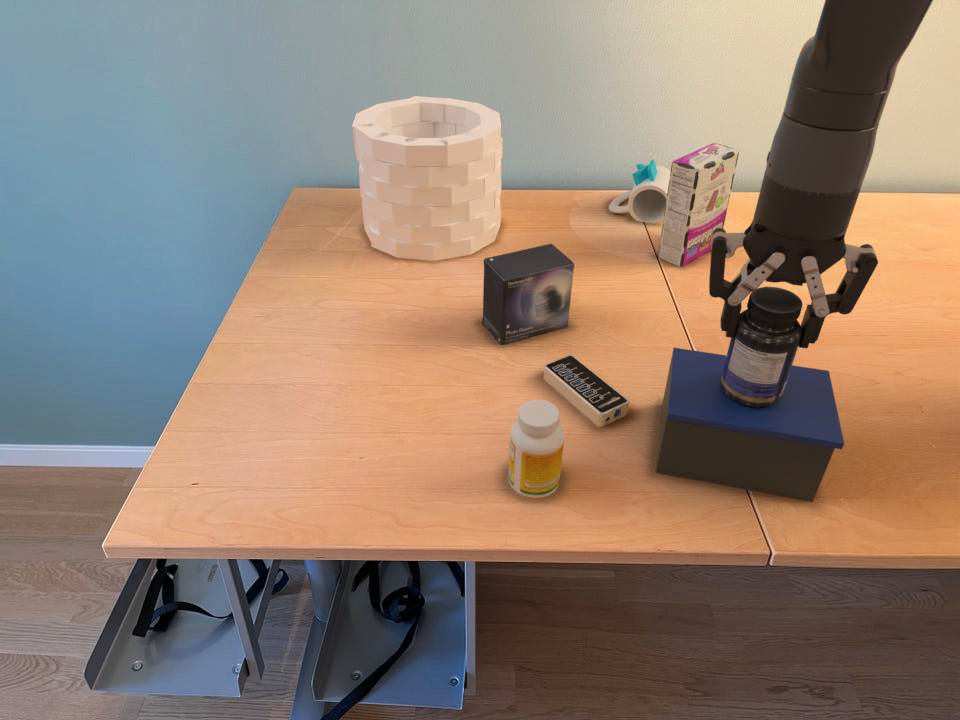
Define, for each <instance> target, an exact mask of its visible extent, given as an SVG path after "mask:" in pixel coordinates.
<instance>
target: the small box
mask: <svg viewBox="0 0 960 720" xmlns="http://www.w3.org/2000/svg"><path fill="white" fill-rule="evenodd" d="M574 270H575V262H573V260H571V259H570V258H569V257H568V256H566V254H565V253H563V252H562V251H561V250H560V249H559V248H558V247H556V246H555V245H554V244H553V243H547V244H543V245H539V246H535V247H529V248H525V249H520V250H517V251H512V252H507V253H503V254H499V255H494V256H489V257H485V258H483V293H482V320H481V325H482V326H483V327H485V329H486V330H487V331H488V332H489V333H490V334H491V336H492V337H493V338H494V339H495V341H496V342H497V343H499V345H501V346H504V345H509V344H512V343H515V342H520V341H523V340H527V339H530V338H534V337H538V336H541V335H545V334H548V333H549V334H550V333H552V332H557V331H560V330H563V329H566V328H568V327H569V319H570V309H571V298H572V290H573V279H574Z"/></svg>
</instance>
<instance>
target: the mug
mask: <svg viewBox="0 0 960 720" xmlns="http://www.w3.org/2000/svg"><path fill="white" fill-rule="evenodd" d="M635 166H636V168H637V170H636V171H634V172H633V173H632V177H633V181H634V185H633V187H632V189H630V190H628V191H625V192H623V193H621V194H620V195H618V196H617V197H615V198H614V199H613V200H612V201H611V202H610V203H609V205H608V210H609V212H611V213H612V214H627V213H629V214H630V216H631V217H632V219H634V220H635V221H636V222H639V223H646V224H655V225H657V224H658V223H660V222H661V223H662V222H663V220H664V214H665V207H666V199H667V193H668V186H669V180H670V173H671V169H669V168H668V167H666V166H663V165H656V161H655V159H651V160H650V161H649V163H648V164H643V163H637V164H635ZM626 200H627V201H628V202H627V205H620V204H622V203H623V202H625V201H626Z"/></svg>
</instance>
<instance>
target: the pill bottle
mask: <svg viewBox="0 0 960 720" xmlns="http://www.w3.org/2000/svg"><path fill="white" fill-rule="evenodd" d="M746 308H747V309H745V310H743V311H741V312H740V316H739V319H738V323H737V327H736V331H735V335H734V338H730V341H729V344H728V349H727V353H726V355H727V356H726V360H725V364H724V368H723V373H722V377H721V388H722V390H723V392H724V393H725V394H726V395H727V396H728V397H729V398H731V399H732V400H734V401H735V402H738V403H739V404H742V405H746V406H750V407H767V406H770V405H772V404H774V403H776V402H777V401H779V400H780V399H781V397H782V395H783V392H784V389H785V386H786V383H787V380H788V377H789V373H790V370H791V367H792V365H793V364H794V361H795V358H796V355H797V351H798V348H799V343H800V339H801V336H802V328H801V323H800V322H799V321H798V319H799V317H800V315H801V312H802V309H803V301H802V299H801V298H800V296H799V295H797V294H795V293H794V292H793V291H790V290H788V289H785V288H782V287H777V286H776V287H775V286H762V287H758V288H757V289H756V290H755V291H752V292H751V293H750V294H749V295H748V301H747V303H746Z"/></svg>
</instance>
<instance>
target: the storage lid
mask: <svg viewBox="0 0 960 720" xmlns="http://www.w3.org/2000/svg"><path fill="white" fill-rule="evenodd" d="M726 356H727V354H719V353H713V352H707V351H699V350H692V349H686V348H681V347H680V348H679V347H673V350H672V354H671V358H672V365H671V377H670V388H669V400H668V412H667V420H673V421H679V422H685V423H690V424H696V425H702V426H708V427H714V428H719V429H725V430H731V431H737V432H743V433H749V434H754V435H760V436H766V437H772V438H778V439H784V440H789V441H795V442H801V443H807V444H813V445H819V446H824V447H830V448H835V450H836V449H837V450H843V448H844V445H845V440H844V435H843V431H842V426H841V421H840V416H839V412H838V408H837V403H836V397H835V394H834V389H833V384H832V379H831V374H830V371H829V370H826V369H821V368H820V369H819V368H812V367H806V366H799V365H793V364H792V367H791V370H790V373H789V377H788V380H787V383H786V386H785V389H784V392H783V395H782V397H781V399H780V400H779V401H777V402H776V403H774V404H772V405H770V406H767V407H750V406H746V405H742V404H739V403H738V402H735V401H734V400H732V399H731V398H729V397H728V396H727V395H726V394H725V393H724V392H723V390H722V388H721V377H722V373H723V368H724V364H725V360H726Z"/></svg>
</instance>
